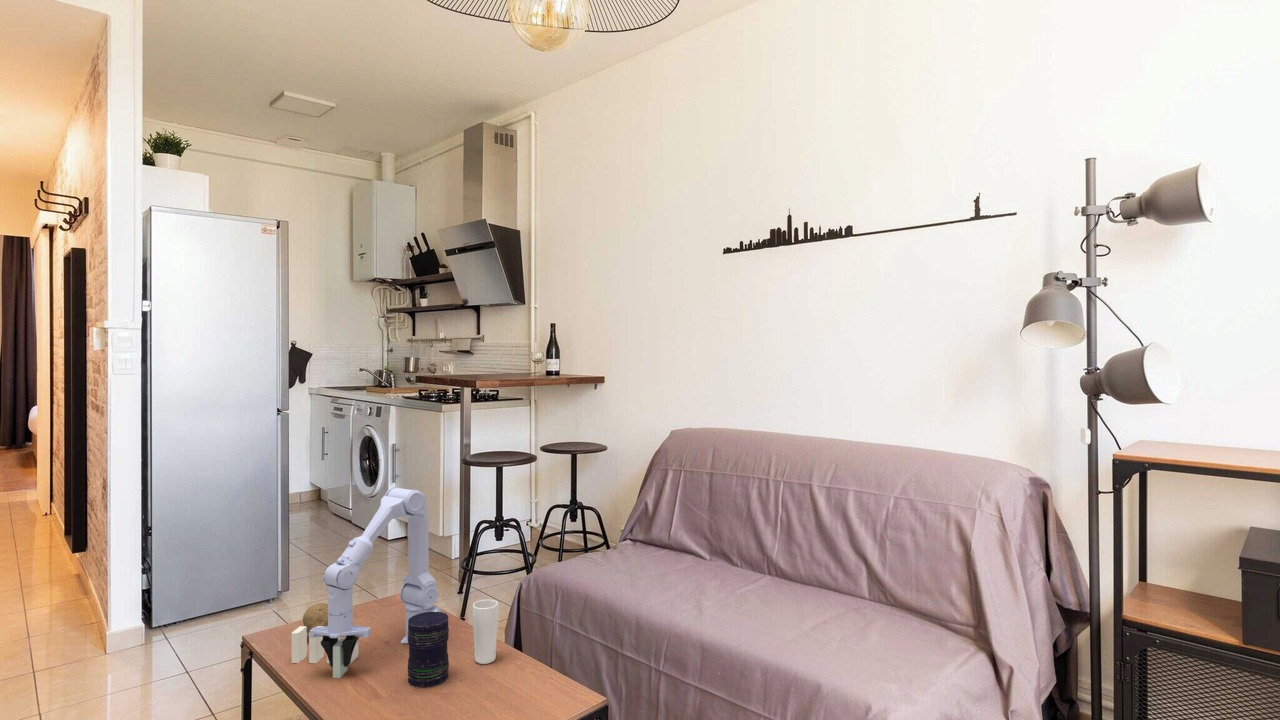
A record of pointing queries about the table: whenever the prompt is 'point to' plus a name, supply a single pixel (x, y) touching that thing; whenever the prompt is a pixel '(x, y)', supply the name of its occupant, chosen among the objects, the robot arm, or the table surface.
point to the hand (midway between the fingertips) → (340, 665)
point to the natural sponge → (316, 616)
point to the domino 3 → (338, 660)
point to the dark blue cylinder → (428, 649)
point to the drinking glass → (485, 630)
